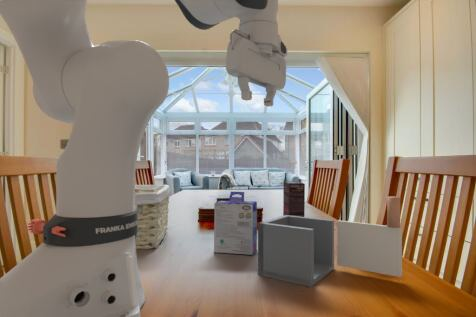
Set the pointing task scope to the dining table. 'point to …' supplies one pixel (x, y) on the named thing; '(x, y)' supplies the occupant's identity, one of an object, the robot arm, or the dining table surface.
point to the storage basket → (151, 214)
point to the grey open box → (296, 249)
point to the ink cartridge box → (235, 225)
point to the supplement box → (294, 199)
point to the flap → (372, 243)
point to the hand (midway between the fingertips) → (258, 103)
